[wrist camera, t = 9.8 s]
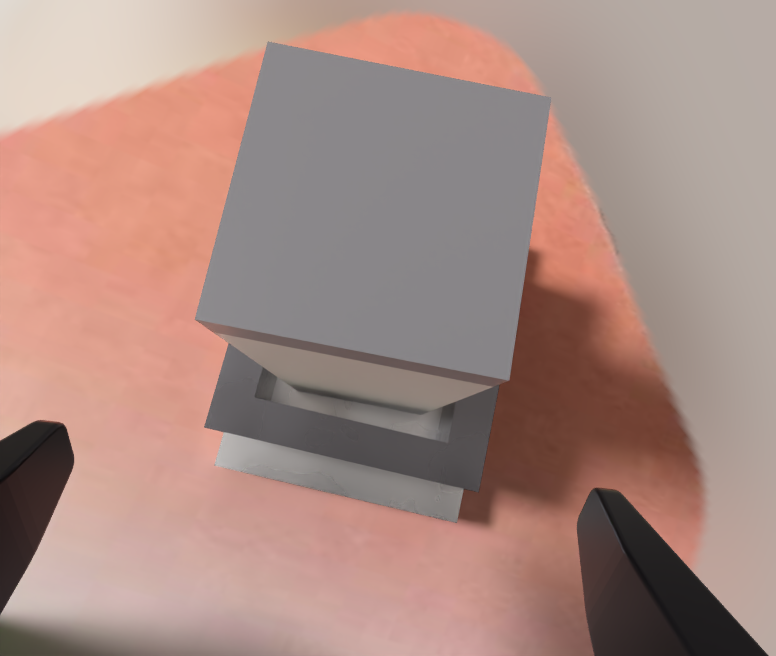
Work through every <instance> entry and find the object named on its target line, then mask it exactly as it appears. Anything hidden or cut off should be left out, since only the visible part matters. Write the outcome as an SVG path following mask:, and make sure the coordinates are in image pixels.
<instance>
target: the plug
mask: <svg viewBox="0 0 776 656" xmlns="http://www.w3.org/2000/svg"><path fill="white" fill-rule="evenodd" d="M550 103H551V97H546V96H541V95H536V94H530V93H525V92H520V91H515V90H510V89H505V88H500V87H495V86H490V85H485V84H480V83H475V82H470V81H465V80H460V79H454V78H449V77H444V76H439V75H434V74H429V73H424V72H419V71H414V70H409V69H404V68H399V67H394V66H389V65H384V64H379V63H373V62H368V61H363V60H358V59H353V58H348V57H343V56H338V55H333V54H328V53H323V52H318V51H313V50H308V49H303V48H298V47H292V46H287V45H282V44H277V43H272V42H268V43H267V47H266V51H265V54H264V58H263V62H262V66H261V70H260V73H259V77H258V81H257V85H256V89H255V92H254V96H253V100H252V104H251V108H250V111H249V115H248V119H247V123H246V127H245V131H244V134H243V138H242V142H241V146H240V150H239V153H238V157H237V161H236V165H235V169H234V172H233V176H232V180H231V184H230V188H229V191H228V195H227V199H226V203H225V207H224V210H223V214H222V218H221V222H220V226H219V229H218V233H217V237H216V241H215V245H214V248H213V252H212V256H211V260H210V264H209V267H208V271H207V275H206V279H205V283H204V286H203V290H202V294H201V298H200V302H199V305H198V309H197V313H196V317H195V320H196V321H198V322H199V323H201V324H202V325H204V326H205V327H206V328H208V329H209V330H211V331H212V332H214V333H215V334H216V335H218V336H219V337H221V338H222V339H224V340H225V341H226V342H228V343H229V344H231V345H232V346H234V347H235V348H236V349H238V350H239V351H241V352H242V353H244V354H245V355H247V356H248V357H249V358H251V359H252V360H254V361H255V362H257V363H258V364H259V365H261V366H262V367H264V368H265V369H267V370H268V371H269V372H271V373H272V374H274V375H275V376H277V377H278V378H279V379H281V380H282V381H284V382H285V383H287V384H288V385H289V386H291V387H292V388H294V389H295V390H297V391H300V392H305V393H311V394H316V395H321V396H326V397H331V398H336V399H341V400H347V401H352V402H357V403H362V404H367V405H372V406H378V407H383V408H388V409H393V410H398V411H403V412H408V413H414V414H419V415H422V414H425V413H428V412H430V411H433V410H435V409H438V408H440V407H443V406H446V405H448V404H451V403H453V402H456V401H458V400H461V399H463V398H466V397H469V396H471V395H474V394H476V393H479V392H481V391H484V390H487V389H489V388H492V387H494V386H497V385H499V384H502V383H505V382H507V381H509V379H510V373H511V366H512V359H513V352H514V346H515V339H516V332H517V325H518V319H519V312H520V305H521V298H522V292H523V285H524V278H525V271H526V265H527V258H528V251H529V245H530V238H531V231H532V224H533V218H534V211H535V204H536V197H537V191H538V184H539V177H540V170H541V164H542V157H543V150H544V144H545V137H546V130H547V123H548V117H549V110H550Z"/></svg>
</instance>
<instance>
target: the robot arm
mask: <svg viewBox="0 0 776 656" xmlns="http://www.w3.org/2000/svg"><path fill="white" fill-rule="evenodd" d="M73 465H74V454H73V450H72V447H71V443H70V439H69V436H68V432H67V429H66V426H65V425H64V424H63V423H60V422H54V421H45V420H38V421H35V422H32V423H31V424H29V425H27V426H25V427H23V428H22V429H20V430H18V431H16V432H15V433H13V434H11V435H9V436H8V437H6V438H4V439H2V440H1V441H0V614H1V613H2V611H3V609H4V607H5V606H6V604H7V602H8V600H9V599H10V597H11V595H12V593H13V592H14V590H15V588H16V586H17V585H18V583H19V581H20V579H21V578H22V576H23V574H24V573H25V571H26V569H27V567H28V565H29V564H30V562H31V560H32V558H33V556H34V554H35V552H36V550H37V548H38V546H39V544H40V542H41V540H42V537H43V535H44V533H45V531H46V528H47V526H48V524H49V522H50V519H51V517H52V515H53V513H54V510H55V508H56V506H57V503H58V501H59V499H60V497H61V494H62V492H63V490H64V488H65V485H66V483H67V481H68V479H69V476H70V474H71V472H72V469H73ZM577 535H578V545H579V554H580V564H581V573H582V583H583V592H584V601H585V609H586V617H587V623H588V628H589V633H590V638H591V642H592V647H593V652H594V656H768V655H767V654H766V652H765V651H764V650H763V649H762V648H761V647H760V646H759V645H758V643H757V642H756V641H755V640H754V639H753V638H752V637H751V636H750V635H749V634H748V632H747V631H746V630H745V629H744V628H743V627H742V626H741V625H740V624H739V623H738V621H737V620H736V619H735V618H734V617H733V616H732V615H731V614H730V613H729V612H728V610H727V609H726V608H725V607H724V606H723V605H722V604H721V603H720V602H719V600H717V598H716V597H715V596H714V595H713V594H712V593H711V592H710V591H709V590H708V588H707V587H706V586H705V585H704V584H703V583H702V582H701V581H700V580H699V578H698V577H697V576H696V575H695V574H694V573H693V572H692V571H691V570H690V568H689V567H688V566H687V565H686V564H685V563H684V562H683V561H682V560H681V559H680V557H679V556H678V555H677V554H676V553H675V552H674V551H673V550H672V549H671V548H670V546H669V545H668V544H667V543H666V542H665V541H664V540H663V539H662V538H661V537H660V535H659V534H658V533H657V532H656V531H655V530H654V529H653V528H652V527H651V525H650V524H649V523H648V522H647V521H646V520H645V519H644V518H643V517H642V516H641V514H640V513H639V512H638V511H637V510H636V509H635V508H634V507H633V506H632V505H631V503H630V502H629V501H628V500H627V499H626V498H625V497H624V496H623V495H622V494H621V493H620V492H619V491H617V490H613V489H605V488H594V489H593V490H591V492H590V494H589V496H588V498H587V500H586V502H585V504H584V507H583V509H582V511H581V513H580V515H579V518H578V522H577Z"/></svg>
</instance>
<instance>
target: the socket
mask: <svg viewBox="0 0 776 656" xmlns="http://www.w3.org/2000/svg"><path fill="white" fill-rule="evenodd" d="M499 385H500V384H499ZM499 385H497V386H494V387H492V388H489V389H487V390H484V391H481V392H479V393H476V394H474V395H471V396H469V397H466V398H463V399H461V400H458V401H456V402H453V403H451V404H448V405H446V406H443V407H440V408H438V409H435V410H433V411H430V412H428V413H425V414H422V415H419V414H414V413H408V412H403V411H398V410H393V409H388V408H383V407H378V406H372V405H367V404H362V403H357V402H352V401H347V400H341V399H336V398H331V397H326V396H321V395H316V394H311V393H305V392H300V391H297V390H295V389H294V388H292V387H291V386H289V385H288V384H287V383H285V382H284V381H282V380H281V379H279V378H278V377H277V376H275V375H274V374H272V373H271V372H269V371H268V370H267V369H265V368H264V367H262V366H261V365H259V364H258V363H257V362H255V361H254V360H252V359H251V358H249V357H248V356H247V355H245V354H244V353H242V352H241V351H239V350H238V349H236V348H235V347H234V346H232V345H231V344H228V348H227V351H226V354H225V358H224V361H223V365H222V368H221V372H220V375H219V378H218V382H217V385H216V389H215V392H214V396H213V399H212V402H211V406H210V409H209V413H208V416H207V420H206V423H205V426H204V427H205V428H209V429H213V430H217V431H222V432H224V434H223V437H222V441H221V444H220V448H219V451H218V455H217V458H216V462H215V466H219V467H223V468H227V469H232V470H236V471H240V472H244V473H249V474H253V475H257V476H261V477H265V478H270V479H274V480H278V481H282V482H286V483H291V484H295V485H299V486H303V487H308V488H312V489H316V490H320V491H324V492H329V493H333V494H337V495H341V496H346V497H350V498H354V499H358V500H362V501H367V502H371V503H375V504H379V505H383V506H388V507H392V508H396V509H400V510H405V511H409V512H413V513H417V514H421V515H426V516H430V517H434V518H438V519H442V520H447V521H451V522H455V523H457V520H458V515H459V510H460V505H461V500H462V495H463V490H464V489H466V490H471V491H475V492H479V488H480V483H481V478H482V473H483V467H484V462H485V457H486V452H487V447H488V442H489V436H490V431H491V426H492V421H493V416H494V410H495V405H496V400H497V395H498V390H499Z"/></svg>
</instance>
